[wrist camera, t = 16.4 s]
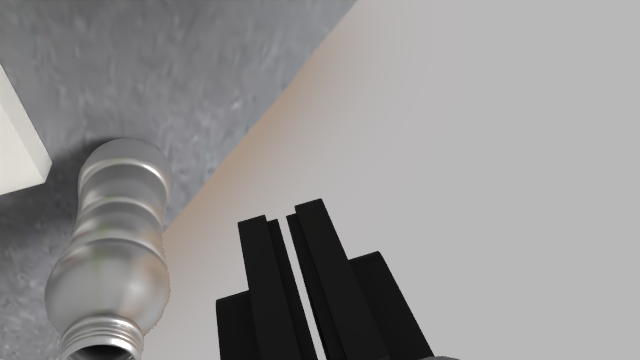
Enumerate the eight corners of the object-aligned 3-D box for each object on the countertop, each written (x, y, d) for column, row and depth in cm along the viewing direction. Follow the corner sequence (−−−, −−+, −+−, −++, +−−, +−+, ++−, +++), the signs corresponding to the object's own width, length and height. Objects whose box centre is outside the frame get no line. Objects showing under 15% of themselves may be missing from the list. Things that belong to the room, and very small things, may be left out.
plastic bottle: (189, 176, 44) (199, 373, 27) (117, 216, 44) (83, 435, 28) (141, 112, 41) (118, 293, 24) (63, 156, 41) (-14, 365, 24)
